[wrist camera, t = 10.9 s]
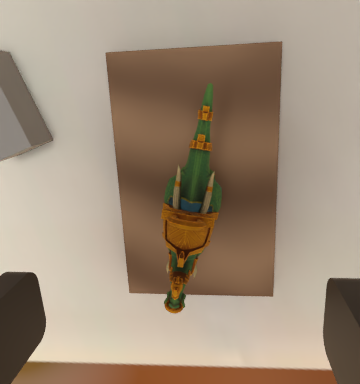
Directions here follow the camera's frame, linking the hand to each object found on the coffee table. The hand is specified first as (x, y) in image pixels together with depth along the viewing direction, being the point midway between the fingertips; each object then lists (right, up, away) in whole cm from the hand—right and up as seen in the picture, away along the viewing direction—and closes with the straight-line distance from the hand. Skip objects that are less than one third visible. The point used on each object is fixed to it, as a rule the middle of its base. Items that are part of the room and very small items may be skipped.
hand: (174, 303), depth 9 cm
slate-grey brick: (-11, +9, +14) cm, 19 cm away
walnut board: (+1, +4, +13) cm, 14 cm away
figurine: (+1, +4, +12) cm, 13 cm away
